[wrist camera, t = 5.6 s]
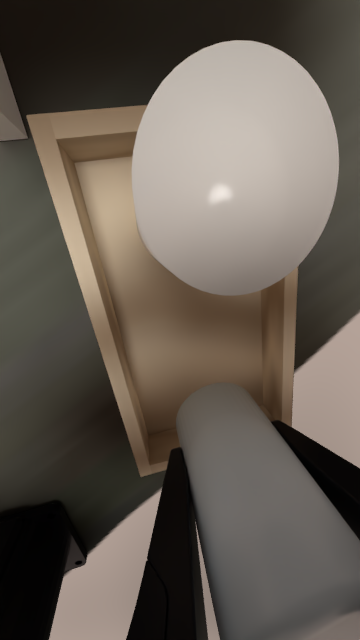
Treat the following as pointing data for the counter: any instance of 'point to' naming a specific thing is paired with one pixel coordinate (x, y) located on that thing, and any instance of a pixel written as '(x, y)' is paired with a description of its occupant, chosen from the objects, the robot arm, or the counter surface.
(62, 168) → the tray
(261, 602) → the grey rounded cylinder
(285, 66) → the white rounded cylinder
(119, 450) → the counter surface
